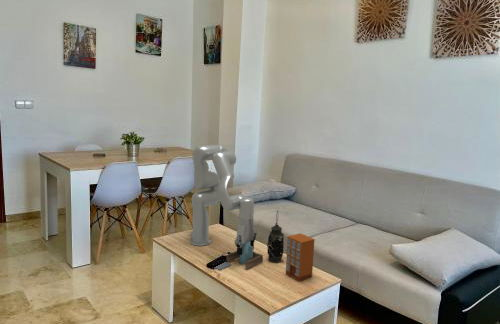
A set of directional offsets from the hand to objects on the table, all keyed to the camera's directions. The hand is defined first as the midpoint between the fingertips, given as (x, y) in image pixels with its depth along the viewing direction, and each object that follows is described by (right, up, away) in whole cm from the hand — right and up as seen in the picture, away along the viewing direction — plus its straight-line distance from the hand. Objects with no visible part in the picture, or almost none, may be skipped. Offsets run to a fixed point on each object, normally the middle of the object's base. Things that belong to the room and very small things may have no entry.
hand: (245, 251), depth 205 cm
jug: (0, -6, +1) cm, 6 cm away
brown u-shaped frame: (0, -6, +1) cm, 6 cm away
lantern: (+16, -6, +6) cm, 18 cm away
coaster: (-13, -6, -4) cm, 15 cm away
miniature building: (+27, -9, -13) cm, 31 cm away
